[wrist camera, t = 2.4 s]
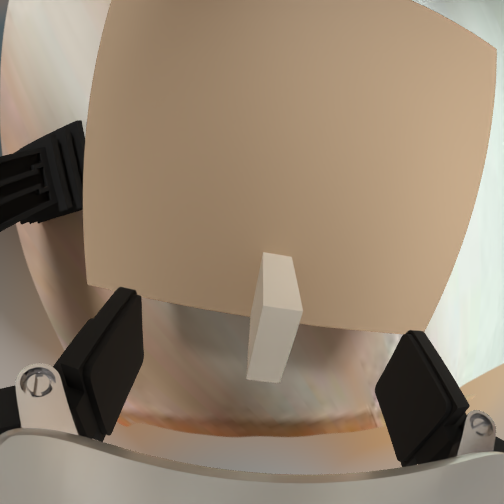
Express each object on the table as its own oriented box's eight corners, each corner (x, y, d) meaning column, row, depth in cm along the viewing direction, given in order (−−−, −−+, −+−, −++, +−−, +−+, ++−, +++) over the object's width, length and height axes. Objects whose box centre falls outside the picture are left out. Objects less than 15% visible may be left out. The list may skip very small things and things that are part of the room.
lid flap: (129, -32, 8) (83, -75, 4) (489, 50, 9) (550, 41, 4) (92, 278, 14) (45, 330, 10) (418, 328, 15) (453, 386, 10)
